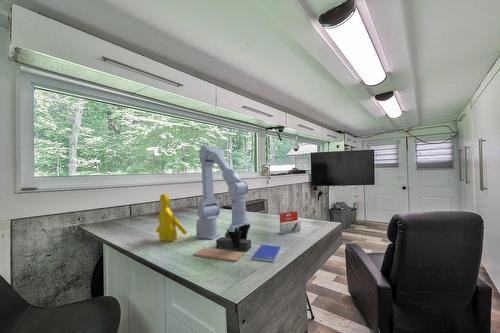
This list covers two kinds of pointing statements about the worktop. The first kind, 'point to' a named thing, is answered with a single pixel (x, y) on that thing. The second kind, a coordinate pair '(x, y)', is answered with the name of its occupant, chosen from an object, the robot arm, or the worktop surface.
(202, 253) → the mat
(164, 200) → the figure statuette
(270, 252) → the hard drive
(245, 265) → the worktop surface
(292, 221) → the ink cartridge box
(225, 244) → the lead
